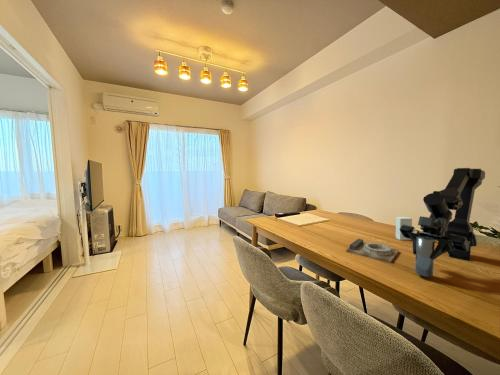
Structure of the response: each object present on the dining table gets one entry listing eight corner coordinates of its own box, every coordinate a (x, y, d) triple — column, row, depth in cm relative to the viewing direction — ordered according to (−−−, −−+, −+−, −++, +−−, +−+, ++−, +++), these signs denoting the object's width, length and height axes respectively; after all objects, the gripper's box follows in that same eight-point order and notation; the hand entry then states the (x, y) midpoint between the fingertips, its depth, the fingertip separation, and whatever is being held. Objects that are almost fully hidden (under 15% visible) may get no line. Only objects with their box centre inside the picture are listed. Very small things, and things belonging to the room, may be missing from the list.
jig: (398, 251, 97) (399, 245, 97) (390, 263, 86) (391, 256, 85) (357, 242, 110) (357, 237, 109) (346, 251, 98) (346, 245, 98)
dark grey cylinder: (433, 273, 74) (435, 237, 73) (432, 278, 71) (434, 241, 70) (416, 268, 78) (417, 235, 77) (414, 273, 74) (415, 238, 73)
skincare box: (406, 237, 116) (407, 216, 115) (411, 240, 112) (412, 218, 111) (395, 237, 117) (395, 216, 116) (399, 240, 112) (400, 218, 111)
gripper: (402, 204, 82) (386, 236, 78) (468, 212, 66) (452, 253, 62) (411, 221, 87) (396, 252, 82) (475, 232, 70) (460, 271, 66)
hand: (422, 256), depth 73 cm, fingers closed on dark grey cylinder, 5 cm apart
